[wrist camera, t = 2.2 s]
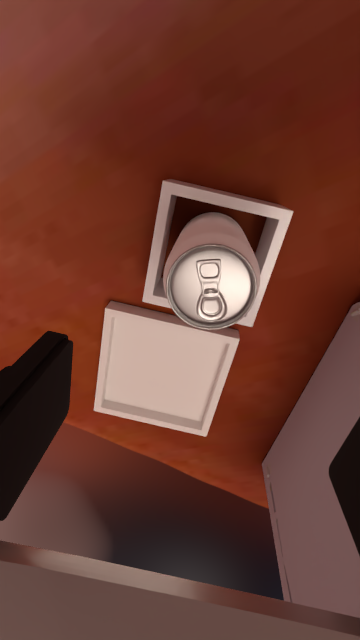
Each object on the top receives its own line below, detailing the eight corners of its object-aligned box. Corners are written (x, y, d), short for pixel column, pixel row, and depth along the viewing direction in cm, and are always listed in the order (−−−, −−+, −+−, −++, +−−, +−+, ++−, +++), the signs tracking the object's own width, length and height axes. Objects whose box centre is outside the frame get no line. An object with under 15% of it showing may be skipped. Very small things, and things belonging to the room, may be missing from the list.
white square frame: (170, 178, 28) (162, 180, 23) (280, 204, 28) (293, 211, 23) (152, 283, 32) (142, 301, 28) (246, 305, 32) (252, 327, 28)
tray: (111, 300, 33) (105, 307, 32) (238, 330, 33) (239, 339, 32) (99, 399, 40) (93, 410, 38) (206, 424, 40) (206, 436, 38)
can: (181, 281, 32) (165, 338, 21) (174, 214, 29) (151, 241, 18) (246, 276, 31) (264, 333, 20) (245, 207, 28) (265, 231, 17)
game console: (256, 467, 42) (288, 685, 24) (360, 284, 30) (574, 449, 12) (297, 478, 42) (359, 703, 24) (416, 300, 30) (708, 488, 12)
